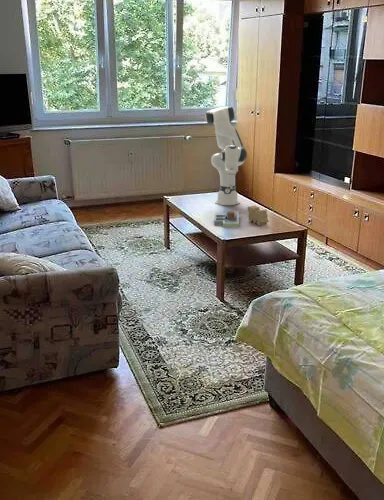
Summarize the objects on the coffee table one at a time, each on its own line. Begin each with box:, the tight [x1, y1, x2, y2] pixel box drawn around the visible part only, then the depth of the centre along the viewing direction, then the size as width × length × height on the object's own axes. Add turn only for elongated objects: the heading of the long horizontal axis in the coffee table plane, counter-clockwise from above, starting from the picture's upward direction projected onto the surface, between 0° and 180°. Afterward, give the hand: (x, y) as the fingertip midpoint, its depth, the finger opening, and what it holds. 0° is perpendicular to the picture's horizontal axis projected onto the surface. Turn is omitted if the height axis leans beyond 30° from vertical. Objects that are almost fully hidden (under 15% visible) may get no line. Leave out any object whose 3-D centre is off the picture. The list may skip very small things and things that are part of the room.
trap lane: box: [213, 212, 240, 229], centre depth 354 cm, size 25×16×3 cm, turn 176°
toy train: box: [247, 205, 270, 226], centre depth 350 cm, size 6×17×10 cm, turn 28°
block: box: [226, 210, 236, 220], centre depth 361 cm, size 5×5×5 cm
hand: (231, 188), depth 363 cm, fingers closed
